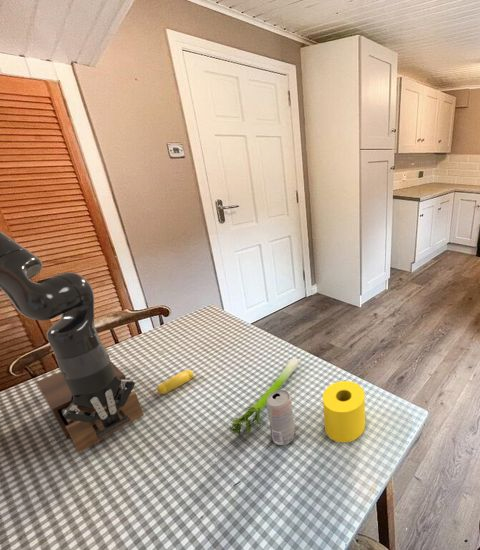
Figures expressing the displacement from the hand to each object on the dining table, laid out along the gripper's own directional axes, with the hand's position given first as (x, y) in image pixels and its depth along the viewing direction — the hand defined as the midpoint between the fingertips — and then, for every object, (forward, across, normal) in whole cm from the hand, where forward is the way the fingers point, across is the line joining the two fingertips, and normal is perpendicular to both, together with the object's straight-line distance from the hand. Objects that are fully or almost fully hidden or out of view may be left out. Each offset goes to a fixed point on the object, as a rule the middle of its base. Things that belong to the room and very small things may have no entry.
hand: (113, 426), depth 70 cm
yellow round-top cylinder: (+4, -17, -8) cm, 19 cm away
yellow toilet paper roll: (+5, -34, +41) cm, 54 cm away
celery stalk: (+5, -29, +19) cm, 35 cm away
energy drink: (+5, -23, +32) cm, 39 cm away
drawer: (+3, 0, -7) cm, 8 cm away
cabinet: (+4, 0, -18) cm, 19 cm away
